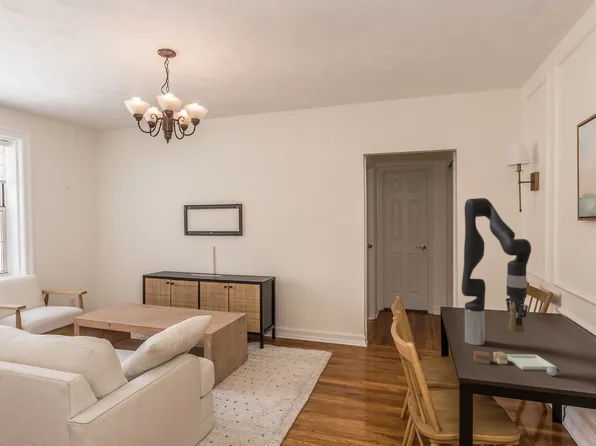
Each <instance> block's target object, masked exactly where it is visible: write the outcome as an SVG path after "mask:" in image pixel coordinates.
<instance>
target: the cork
mask: <svg viewBox="0 0 596 446" xmlns="http://www.w3.org/2000/svg"><path fill="white" fill-rule="evenodd" d="M509 309H510V311H511V314H510V313H509V322H508V326H507V329H508V331H510V332H516V333H524V332H525V326H524V320H523V318H522V326H518V324H516V312H515V308H514V306H513V304H512V305H510V307H509ZM517 310H520V309H518V308H517ZM518 314H519V312H518Z"/></svg>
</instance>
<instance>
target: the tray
mask: <svg viewBox="0 0 596 446" xmlns="http://www.w3.org/2000/svg"><path fill="white" fill-rule="evenodd" d="M507 355H508V361H509V362H511V363H512V364H513V365H515V367H518V368H519V369H520V370H522V371H547V368H548V367H554V368H555V369H556V370H557V366H555V365H554V364H553V363H551V362H550V361H548V360H546V359H544V358H542V357H541V356H539V355H537V354H512V353H511V354H509V353H507Z"/></svg>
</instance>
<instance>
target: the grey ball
mask: <svg viewBox="0 0 596 446" xmlns="http://www.w3.org/2000/svg"><path fill="white" fill-rule="evenodd" d="M546 373H547V374H548V375H549V376H553V377H555V376H556V375H557V373H558V371H557V368H556V369H555V368H554V367H548V368H547V370H546Z"/></svg>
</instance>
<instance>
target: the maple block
mask: <svg viewBox="0 0 596 446" xmlns="http://www.w3.org/2000/svg"><path fill="white" fill-rule="evenodd" d="M507 354H508V353H507ZM507 354H506V353H505V352H503V351H494V352H493V362H495V363H496V364H498V365H508V361H509V360H508V355H507Z"/></svg>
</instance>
